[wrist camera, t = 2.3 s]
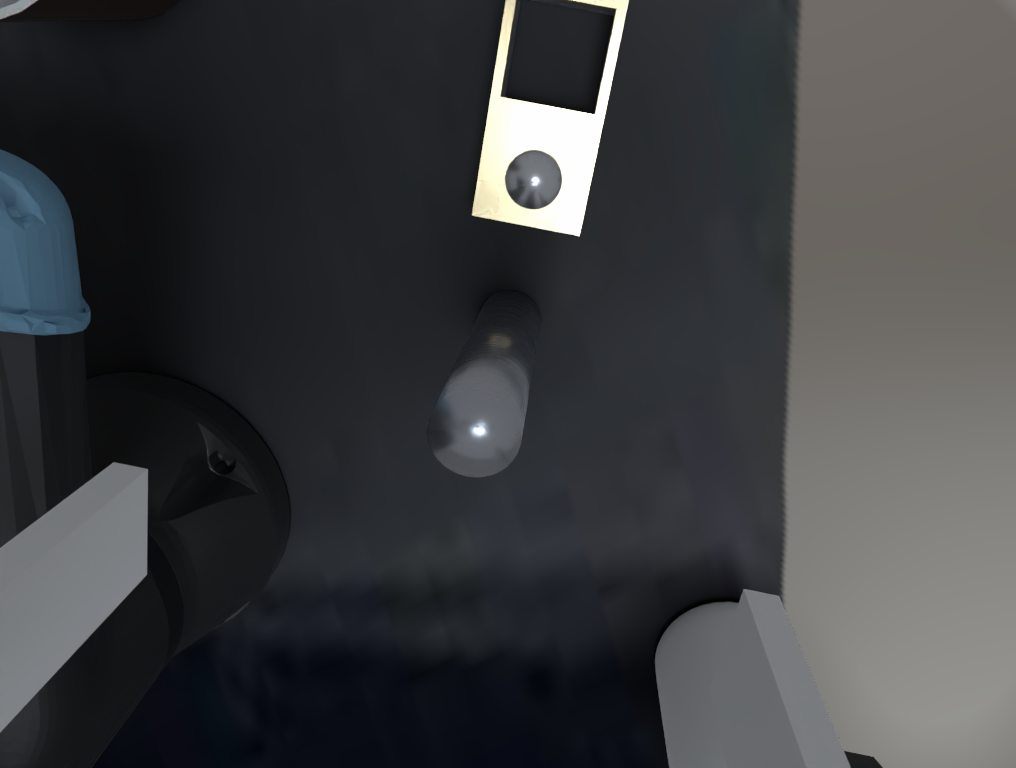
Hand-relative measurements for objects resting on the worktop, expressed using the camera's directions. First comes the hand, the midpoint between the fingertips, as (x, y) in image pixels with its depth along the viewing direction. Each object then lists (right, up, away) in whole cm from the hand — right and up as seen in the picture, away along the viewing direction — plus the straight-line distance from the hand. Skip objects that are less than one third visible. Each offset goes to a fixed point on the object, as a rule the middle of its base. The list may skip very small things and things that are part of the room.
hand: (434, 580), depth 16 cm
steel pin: (+2, +7, +21) cm, 22 cm away
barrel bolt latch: (+4, +18, +16) cm, 25 cm away
